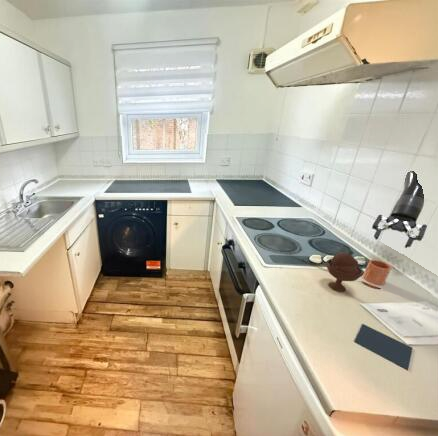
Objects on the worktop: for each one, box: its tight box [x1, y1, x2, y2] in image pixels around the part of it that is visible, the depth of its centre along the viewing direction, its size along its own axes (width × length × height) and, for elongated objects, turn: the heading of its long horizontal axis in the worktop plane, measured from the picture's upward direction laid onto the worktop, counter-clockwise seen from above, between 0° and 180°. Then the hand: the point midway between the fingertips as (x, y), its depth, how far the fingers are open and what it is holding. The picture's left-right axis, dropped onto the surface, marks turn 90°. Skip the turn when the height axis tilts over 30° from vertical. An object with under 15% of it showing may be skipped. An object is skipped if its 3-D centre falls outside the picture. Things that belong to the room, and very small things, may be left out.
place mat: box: [353, 323, 413, 371], centre depth 68 cm, size 11×10×1 cm
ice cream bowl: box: [325, 252, 365, 293], centre depth 88 cm, size 11×11×15 cm
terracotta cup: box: [361, 259, 392, 290], centre depth 91 cm, size 6×6×9 cm
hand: (390, 242), depth 93 cm, fingers open, 8 cm apart
